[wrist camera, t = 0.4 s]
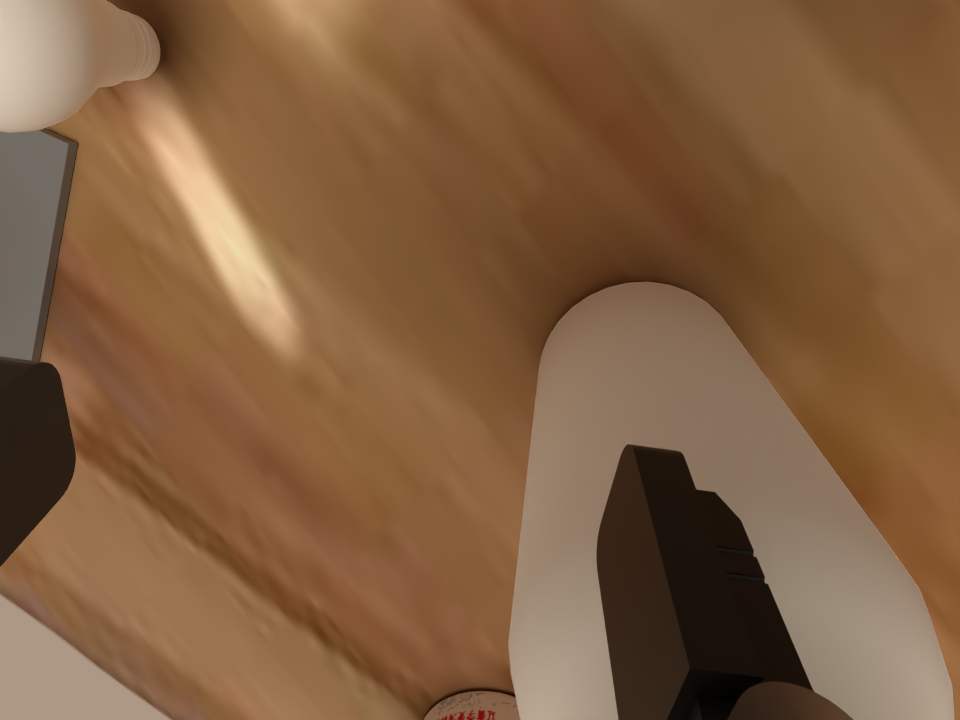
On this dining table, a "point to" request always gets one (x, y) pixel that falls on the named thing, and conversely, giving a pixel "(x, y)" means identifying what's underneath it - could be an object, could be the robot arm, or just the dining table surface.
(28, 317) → the ring holder
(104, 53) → the lightbulb
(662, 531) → the robot arm
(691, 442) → the alcohol
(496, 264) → the dining table surface
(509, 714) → the teacup with lid
